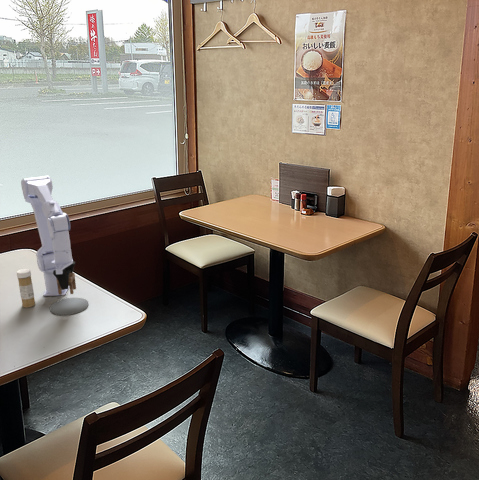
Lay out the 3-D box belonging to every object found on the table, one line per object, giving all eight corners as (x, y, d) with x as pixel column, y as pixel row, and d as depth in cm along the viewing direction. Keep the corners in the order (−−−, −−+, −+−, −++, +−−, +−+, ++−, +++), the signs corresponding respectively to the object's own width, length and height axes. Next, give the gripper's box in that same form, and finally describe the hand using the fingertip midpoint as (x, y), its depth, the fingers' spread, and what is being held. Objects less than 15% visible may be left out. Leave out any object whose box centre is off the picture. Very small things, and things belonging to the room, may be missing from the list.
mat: (55, 299, 187) (55, 298, 187) (91, 298, 188) (91, 296, 188) (45, 316, 175) (45, 314, 174) (84, 314, 176) (84, 312, 176)
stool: (62, 288, 182) (60, 273, 180) (76, 288, 182) (74, 272, 180) (58, 294, 177) (56, 278, 175) (73, 294, 177) (71, 278, 175)
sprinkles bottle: (32, 301, 186) (26, 267, 182) (37, 305, 183) (32, 270, 179) (19, 305, 183) (14, 270, 179) (25, 309, 180) (19, 274, 176)
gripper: (55, 242, 181) (60, 278, 185) (44, 257, 167) (49, 294, 171) (75, 242, 181) (79, 277, 186) (66, 256, 168) (71, 293, 172)
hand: (66, 285), depth 179 cm, fingers closed on stool, 5 cm apart
